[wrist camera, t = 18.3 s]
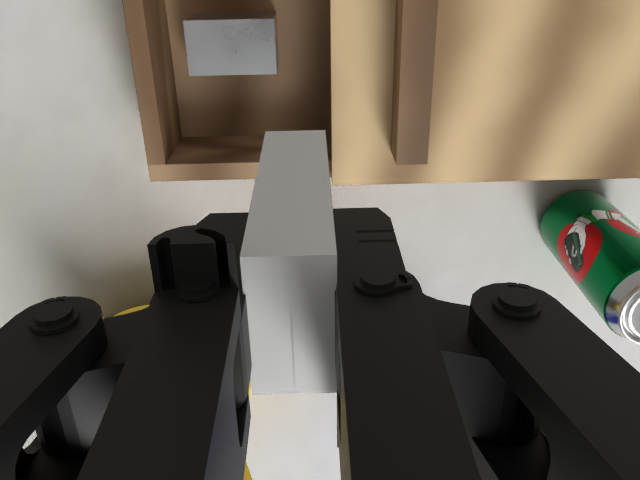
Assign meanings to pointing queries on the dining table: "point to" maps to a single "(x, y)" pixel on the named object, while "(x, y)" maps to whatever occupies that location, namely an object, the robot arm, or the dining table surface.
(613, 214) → the soda can
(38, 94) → the dining table surface
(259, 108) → the open wooden box
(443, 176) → the lid
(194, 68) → the steel block
